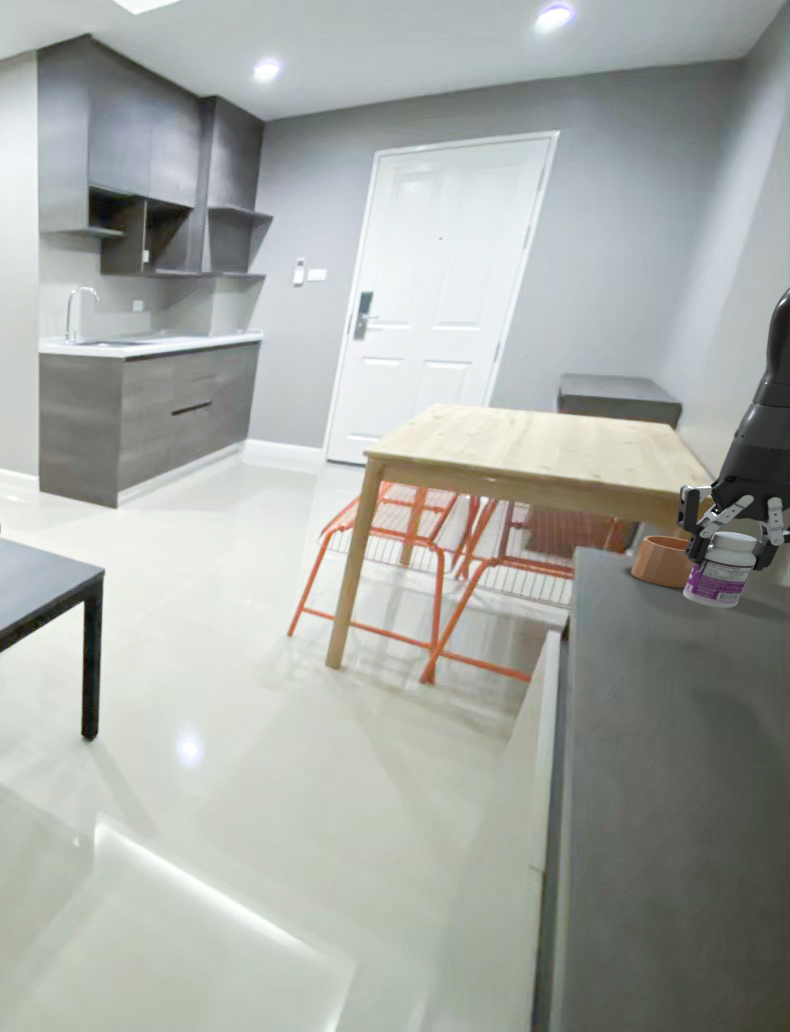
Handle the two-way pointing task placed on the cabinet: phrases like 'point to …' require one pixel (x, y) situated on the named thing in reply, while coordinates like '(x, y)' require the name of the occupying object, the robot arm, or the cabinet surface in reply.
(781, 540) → the robot arm
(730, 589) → the pill bottle
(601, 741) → the cabinet surface
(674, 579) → the holder
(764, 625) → the cabinet surface
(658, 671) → the cabinet surface
